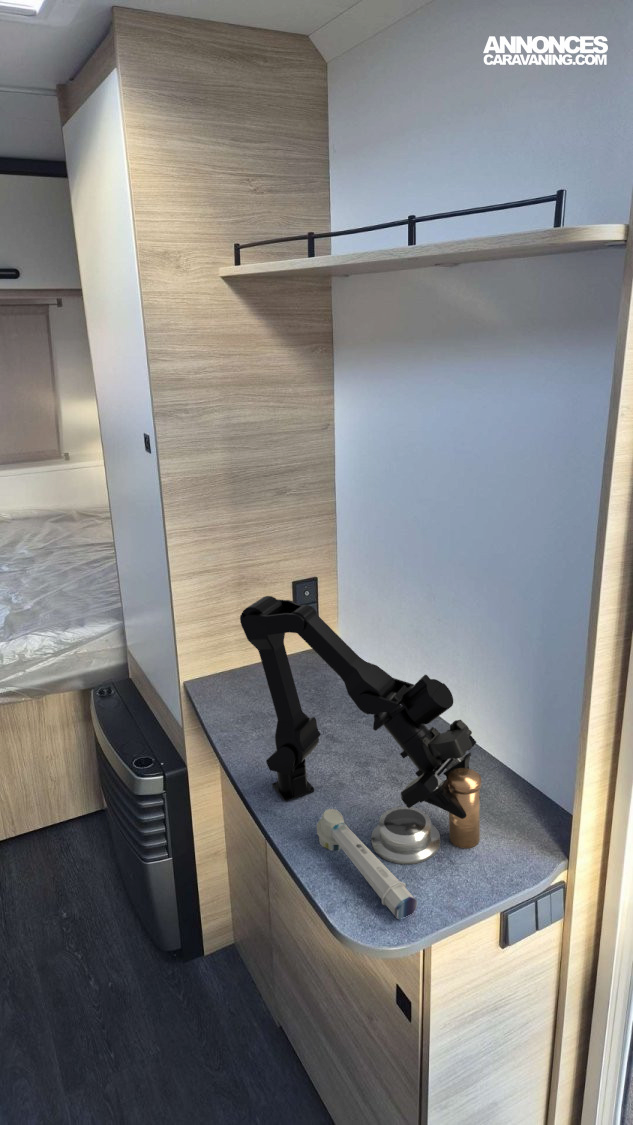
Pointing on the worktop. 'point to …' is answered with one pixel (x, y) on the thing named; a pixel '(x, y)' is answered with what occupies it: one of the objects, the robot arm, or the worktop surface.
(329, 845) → the grey piece
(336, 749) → the worktop surface
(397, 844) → the ring
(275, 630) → the robot arm
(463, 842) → the copper capped cylinder
